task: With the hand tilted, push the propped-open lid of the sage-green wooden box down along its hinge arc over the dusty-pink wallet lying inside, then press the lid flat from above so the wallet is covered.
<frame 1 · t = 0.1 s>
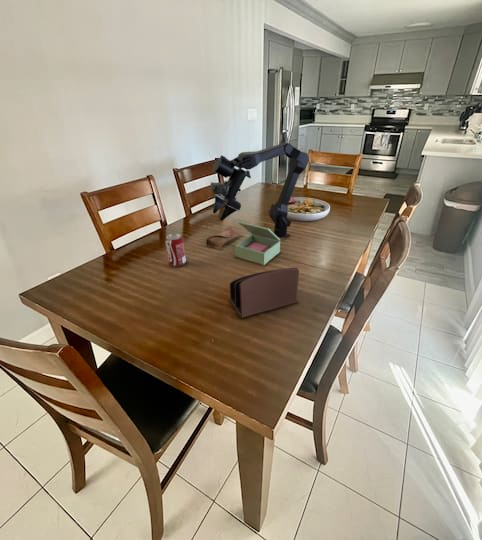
hand: (217, 216, 124), 15 cm above the table, tool tilted 30°, fingers open, 9 cm apart
sunglasses case: (225, 241, 138), on the table
letter holder: (263, 302, 97), on the table
soda can: (177, 263, 120), on the table
lid: (259, 231, 121), point 11 cm above the table, hinge at 40.0°
keepsake box: (257, 255, 125), on the table
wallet: (259, 252, 126), point 1 cm above the table, touching keepsake box
bowl: (302, 213, 169), on the table
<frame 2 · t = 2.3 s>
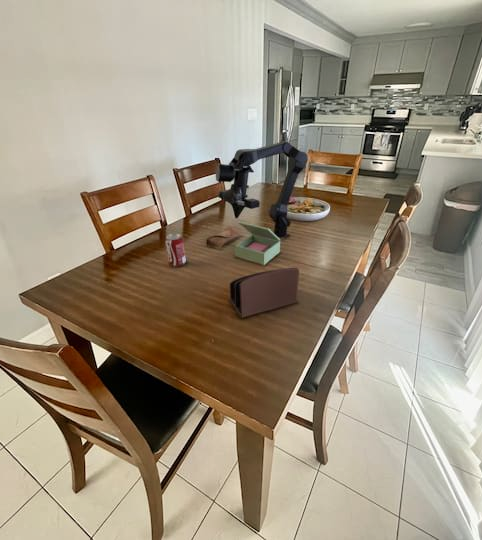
hand: (236, 218, 130), 12 cm above the table, tool pointing down, fingers closed
nothing on the table moved.
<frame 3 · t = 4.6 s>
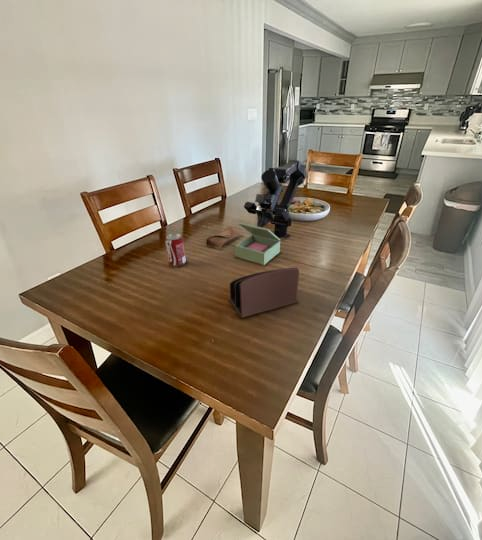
hand: (258, 229, 119), 12 cm above the table, tool tilted 45°, fingers closed, pressing on lid
lid: (259, 231, 121), point 10 cm above the table, hinge at 38.6°, touching gripper
everything else where it was.
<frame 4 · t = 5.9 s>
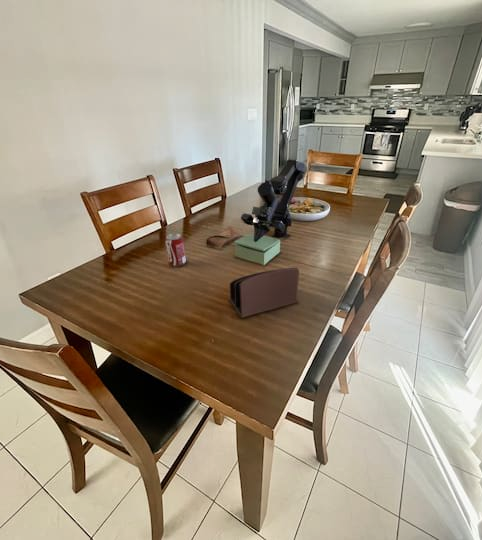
hand: (254, 241, 120), 8 cm above the table, tool tilted 45°, fingers closed, pressing on lid
lid: (257, 241, 122), point 7 cm above the table, hinge at 5.0°, touching gripper
everything else where it was.
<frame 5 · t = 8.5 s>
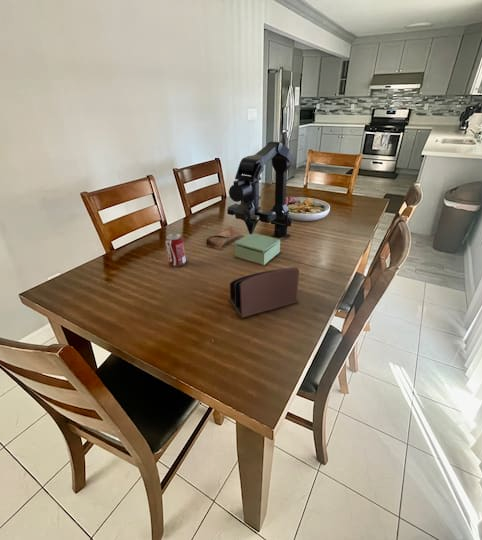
hand: (251, 233, 115), 12 cm above the table, tool pointing down, fingers closed
lid: (257, 241, 122), point 7 cm above the table, hinge at 3.6°
everything else where it was.
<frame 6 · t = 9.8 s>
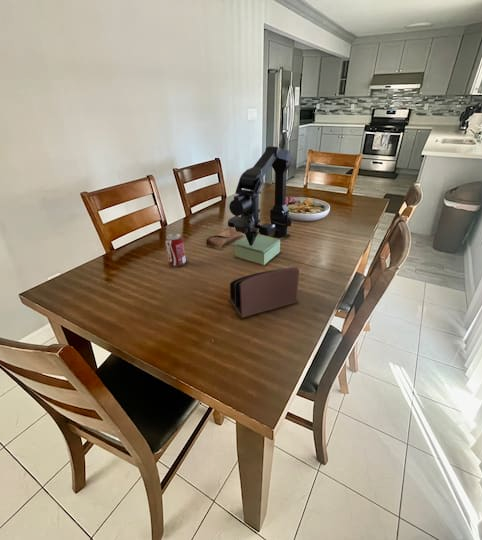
hand: (251, 245, 118), 7 cm above the table, tool pointing down, fingers closed, pressing on lid
lid: (257, 242, 122), point 6 cm above the table, hinge at 2.4°, touching gripper
everything else where it was.
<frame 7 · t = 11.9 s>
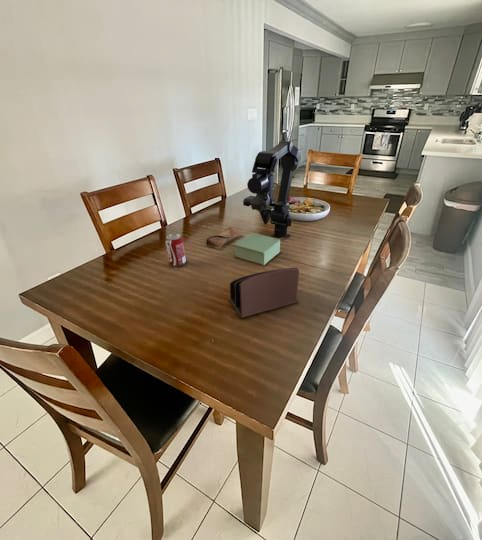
hand: (265, 223, 122), 13 cm above the table, tool pointing down, fingers closed
lid: (257, 242, 122), point 6 cm above the table, hinge at 0.0°
everything else where it was.
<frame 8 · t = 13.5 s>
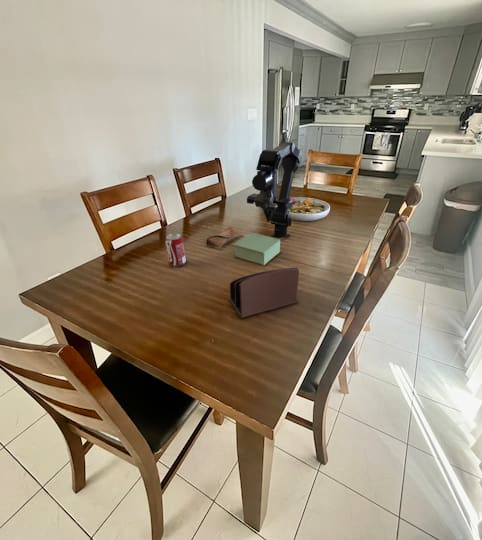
hand: (268, 221, 124), 13 cm above the table, tool pointing down, fingers closed
nothing on the table moved.
at the end: lid at +0° (first picture: +40°); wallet inside the target area in the keepsake box (1.5 cm from its centre), point 0.7 cm above the keepsake box's base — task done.
